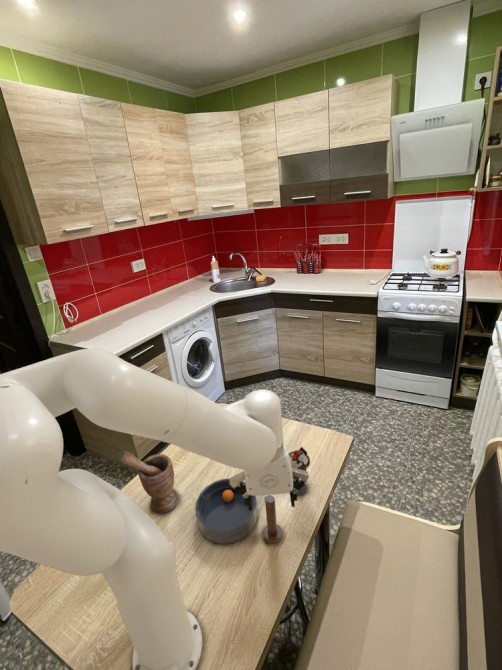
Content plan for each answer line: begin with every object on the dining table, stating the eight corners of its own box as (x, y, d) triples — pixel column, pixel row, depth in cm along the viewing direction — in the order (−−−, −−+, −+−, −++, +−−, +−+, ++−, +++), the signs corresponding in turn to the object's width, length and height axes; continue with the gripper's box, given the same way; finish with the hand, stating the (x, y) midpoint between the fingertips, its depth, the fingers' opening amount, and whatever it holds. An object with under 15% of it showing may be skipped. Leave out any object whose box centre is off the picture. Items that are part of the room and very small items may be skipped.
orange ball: (234, 504, 91) (232, 496, 90) (222, 505, 91) (221, 496, 90) (234, 494, 94) (233, 486, 92) (223, 495, 94) (222, 487, 92)
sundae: (290, 501, 91) (288, 457, 85) (283, 481, 97) (280, 439, 91) (314, 495, 92) (313, 452, 86) (305, 476, 98) (304, 434, 92)
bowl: (258, 542, 81) (257, 528, 79) (194, 547, 82) (191, 533, 80) (256, 489, 95) (255, 476, 93) (201, 494, 95) (199, 480, 93)
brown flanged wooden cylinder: (282, 543, 81) (280, 506, 76) (264, 544, 81) (260, 508, 76) (281, 526, 85) (278, 490, 80) (263, 527, 85) (259, 491, 80)
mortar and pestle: (145, 529, 87) (127, 470, 79) (132, 507, 93) (114, 450, 85) (185, 502, 93) (172, 445, 85) (170, 483, 100) (157, 428, 91)
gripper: (223, 463, 68) (233, 521, 76) (310, 455, 68) (312, 515, 75) (225, 437, 75) (234, 493, 82) (304, 430, 75) (306, 486, 82)
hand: (271, 503), depth 79 cm, fingers open, 9 cm apart
